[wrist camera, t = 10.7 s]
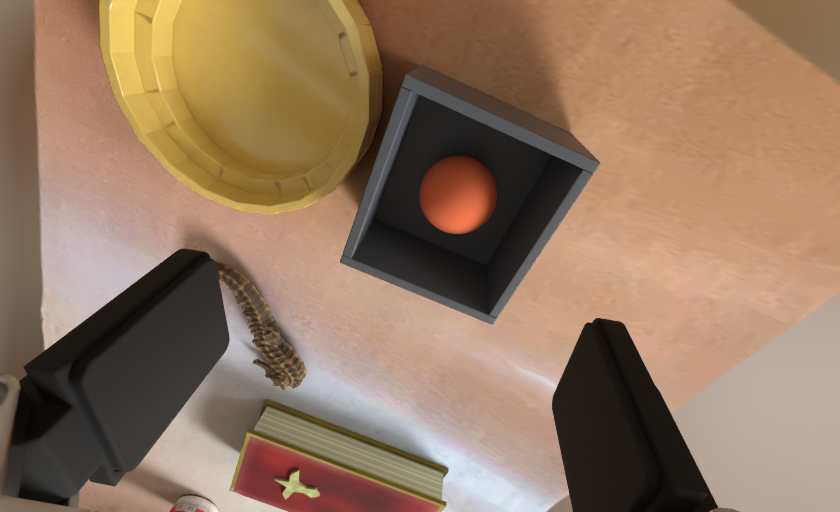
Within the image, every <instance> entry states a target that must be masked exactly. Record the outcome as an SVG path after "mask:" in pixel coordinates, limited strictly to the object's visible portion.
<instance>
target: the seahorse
mask: <svg viewBox="0 0 840 512" xmlns="http://www.w3.org/2000/svg"><path fill="white" fill-rule="evenodd" d="M215 263H216V267H217V272H218V278H219V279H220V280H221V281H223V282H225V283H226V285H227V286H229V289H230V290H232V292H233V293H234V295H236V296H237V297H235V298H236V299H237V301H238V302H237V303H238V304H242V309H243V310H245V311H243V312H242V314H244V315H245V317H246V318H248V320H249V322H248V324H250V327H249V328H248V329H252V330H251V333H252V334H254V340H252V341H253V343H255V345H256V349H259V350H260V351H261V354H263V355H264V356H265V358H266V359H267V360H268V361H269V362H270V365H271V366H270V365H268V364H266V363H264V362H262V361H260V360H259V359H255V360H254V361H253V364H257V365H259V366H260V367H262V368H264V369H265V371H266V375H265V376H266V377H267V378H270V379H271V380H272V381H273V382H274V383H273V386H280V387H281V388H282V389H283V390H284V389H285V388H286V386H291V387H292V388H293V389H294V388H295V387H298V386H299V385H300V384H301V382H302V380H303V378H305V376H306V371H307V370H306V369H305V366H304V364H303V363H304V362H302V360H301V359H300V357H299V356H298V354H297V352H296V351H295V350H294V349H293V348H292V347H291V346H290V345H288V344H287V343H285V342H284V340H283V338H282V337H281V336H280V332H279V330H280V329H278V328H277V326H276V325H274V323H275V321H273V317H272V316H271V312H270V307H268V306H267V303H266V302H265V301H264V300H263V297H261V296H260V294H259V292H258V291H257V290H256V289H255V287H254V286H253V285H252V284H251V283H250V281H249V280H248V279H246V277H245V276H244V275H243V274H241V273H239V272H238V271H237V270H235V269H233V268H231V267H230V266H229V265H224V264H223V263H218V262H217V261H215Z"/></svg>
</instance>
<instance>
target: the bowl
mask: <svg viewBox="0 0 840 512" xmlns="http://www.w3.org/2000/svg"><path fill="white" fill-rule="evenodd" d="M99 2H100V3H99V22H100V50H101V53H102V57H103V60H104V63H105V67H106V70H107V73H108V77H109V80H110V83H111V87H112V90H113V93H114V96H115V99H116V100H117V102H118V104H119V106H120V107H121V109H122V111H123V113H124V115H125V116H126V118H127V120H128V122H129V123H130V125H131V127H132V129H133V130H134V132H135V134H136V136H137V137H138V139H139V140H140V141H141V142H142V143H143V144H144V146H145V147H146V148H147V149H148V150H149V151H150V152H151V153H152V155H153V156H154V157H155V158H156V159H157V160H158V161H159V162H160V163H161V165H162V166H163V167H164V168H165V169H166V170H167V171H168V172H169V173H171V174H172V175H173V176H175V177H176V178H178V179H179V180H180V181H182V182H183V183H185V184H186V185H187V186H189V187H190V188H191V189H193V190H194V191H196V192H197V193H198V194H200V195H202V196H204V197H206V198H208V199H211V200H213V201H216V202H218V203H221V204H223V205H225V206H228V207H230V208H233V209H235V210H240V211H248V212H256V213H265V214H276V213H281V212H286V211H291V210H296V209H301V208H305V207H308V206H309V205H311V204H312V203H314V202H316V201H317V200H319V199H321V198H322V197H324V196H325V195H327V194H329V193H330V192H332V191H334V190H335V189H336V188H337V187H338V186H339V185H340V183H341V182H342V181H343V180H344V179H345V178H346V177H347V176H348V175H349V174H350V173H351V171H352V170H353V169H354V168H355V166H356V165H357V164H358V162H359V161H360V160H361V158H362V157H363V156H364V155H365V153H366V152H367V151H368V149H369V148H370V146H371V143H372V140H373V138H374V135H375V132H376V129H377V126H378V123H379V120H380V117H381V114H382V112H381V111H382V85H383V71H382V65H381V61H380V57H379V53H378V50H377V46H376V42H375V38H374V34H373V31H372V27H371V24H370V22H369V20H368V18H367V17H366V15H365V13H364V11H363V10H362V8H361V6H360V5H359V3H358V1H357V0H99Z"/></svg>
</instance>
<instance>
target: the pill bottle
mask: <svg viewBox="0 0 840 512" xmlns="http://www.w3.org/2000/svg"><path fill="white" fill-rule="evenodd" d="M170 512H219V510H218V509H217V507H216V506H215V505H214V504H212V503H211V502H210V501H208V500H206V499H204V498H201V497H198V496H183V497H181V498H179V499H178V500H177V501H176V503H175V504H174V506H173V507H172V509H171V510H170Z"/></svg>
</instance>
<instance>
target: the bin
mask: <svg viewBox="0 0 840 512" xmlns="http://www.w3.org/2000/svg"><path fill="white" fill-rule="evenodd" d="M456 155H461V156H468V157H471V158H474V159H476V160H478V161H480V162H481V163H482V164H484V165H485V166H486V167H487V168H488V169H489V171H490V172H491V174H492V175H493V177H494V180H495V182H496V186H497V202H496V206H495V209H494V211H493V213H492V215H491V216H490V218H489V219H488V220H487V221H486V222H485V223H484V224H483V225H482V226H481V227H479V228H478V229H476V230H474V231H471V232H468V233H463V234H452V233H447V232H444V231H442V230H440V229H438V228H436V227H435V226H434V225H433V224H431V223H430V222H429V220H428V219H427V218H426V216H425V215H424V213H423V211H422V208H421V204H420V198H419V192H420V186H421V182H422V180H423V178H424V176H425V174H426V173H427V171H428V170H429V169H430V168H431V167H432V166H433V165H434V164H435V163H437V162H438V161H440V160H442V159H444V158H446V157H450V156H456ZM599 165H600V162H599V161H598V160H597V159H596V158H595V157H594V156H593V155H592V154H591V153H590V152H589V151H588V150H587V149H586V148H585V147H584V146H583V145H582V144H581V143H580V142H579V141H578V140H577V139H576V138H575V137H574V136H573V135H572V134H571V133H569V132H567V131H565V130H562V129H560V128H558V127H556V126H554V125H552V124H549V123H547V122H545V121H543V120H541V119H539V118H536V117H534V116H532V115H530V114H528V113H526V112H523V111H521V110H519V109H517V108H515V107H513V106H510V105H508V104H506V103H504V102H502V101H500V100H497V99H495V98H493V97H491V96H489V95H487V94H484V93H482V92H480V91H478V90H476V89H474V88H471V87H469V86H467V85H465V84H463V83H461V82H458V81H456V80H454V79H452V78H450V77H448V76H445V75H443V74H441V73H439V72H437V71H435V70H432V69H430V68H428V67H426V66H424V65H422V66H420V67H418V68H416V69H414V70H412V71H410V72H408V73H406V74H405V76H404V79H403V82H402V87H401V88H400V90H399V93H398V96H397V99H396V102H395V105H394V108H393V110H392V113H391V116H390V119H389V122H388V125H387V128H386V131H385V134H384V136H383V139H382V142H381V145H380V148H379V151H378V154H377V157H376V159H375V162H374V165H373V168H372V171H371V174H370V177H369V180H368V182H367V185H366V188H365V191H364V194H363V197H362V200H361V203H360V205H359V208H358V211H357V214H356V217H355V220H354V223H353V226H352V229H351V231H350V234H349V237H348V240H347V243H346V246H345V249H344V252H343V255H342V257H341V260H340V263H342V264H345V265H347V266H350V267H352V268H355V269H357V270H359V271H362V272H364V273H367V274H369V275H372V276H374V277H377V278H379V279H381V280H384V281H386V282H389V283H391V284H394V285H396V286H399V287H401V288H404V289H406V290H408V291H411V292H413V293H416V294H418V295H421V296H423V297H426V298H428V299H430V300H433V301H435V302H438V303H440V304H443V305H445V306H448V307H450V308H453V309H455V310H457V311H460V312H462V313H465V314H467V315H470V316H472V317H475V318H477V319H479V320H482V321H484V322H487V323H489V324H492V325H493V324H494V322H495V321H496V319H497V318H498V316H499V315H500V313H501V312H502V310H503V309H504V307H505V306H506V304H507V303H508V301H509V300H510V298H511V297H512V295H513V294H514V292H515V291H516V289H517V288H518V286H519V285H520V283H521V282H522V280H523V279H524V277H525V276H526V274H527V273H528V271H529V270H530V268H531V267H532V265H533V264H534V262H535V261H536V259H537V258H538V256H539V255H540V253H541V252H542V250H543V249H544V247H545V246H546V244H547V243H548V241H549V240H550V238H551V237H552V235H553V234H554V232H555V231H556V229H557V228H558V226H559V225H560V223H561V222H562V220H563V219H564V217H565V216H566V214H567V213H568V211H569V210H570V208H571V207H572V205H573V204H574V202H575V201H576V199H577V198H578V196H579V195H580V193H581V192H582V190H583V189H584V187H585V186H586V184H587V183H588V181H589V180H590V178H591V177H592V175H593V173H594V172H595V171H596V169H597V168H598V166H599Z"/></svg>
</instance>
